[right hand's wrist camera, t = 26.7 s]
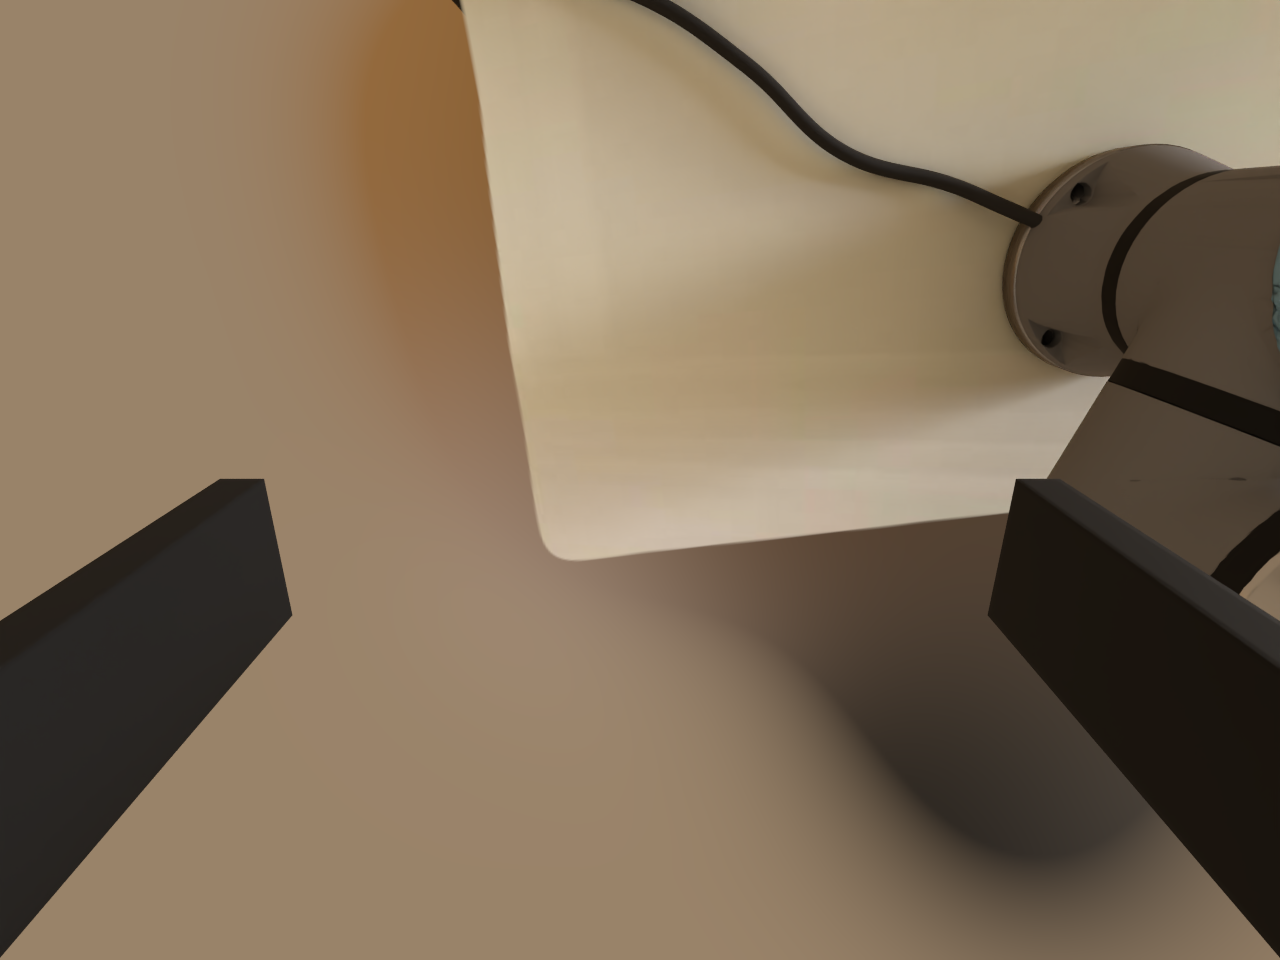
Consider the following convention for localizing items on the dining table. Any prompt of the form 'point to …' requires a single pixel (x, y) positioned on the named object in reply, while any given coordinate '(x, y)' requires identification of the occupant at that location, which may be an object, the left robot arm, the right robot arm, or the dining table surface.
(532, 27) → the dining table surface
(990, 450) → the dining table surface
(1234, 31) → the dining table surface
